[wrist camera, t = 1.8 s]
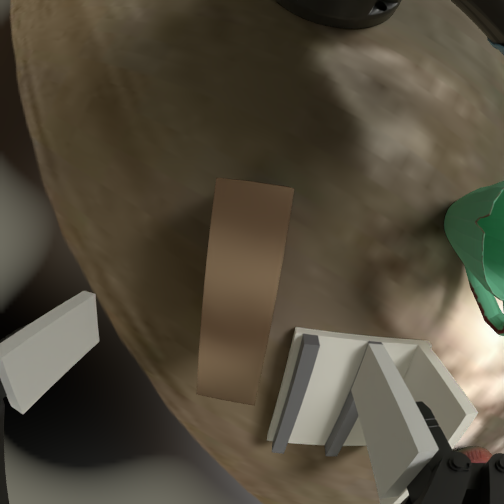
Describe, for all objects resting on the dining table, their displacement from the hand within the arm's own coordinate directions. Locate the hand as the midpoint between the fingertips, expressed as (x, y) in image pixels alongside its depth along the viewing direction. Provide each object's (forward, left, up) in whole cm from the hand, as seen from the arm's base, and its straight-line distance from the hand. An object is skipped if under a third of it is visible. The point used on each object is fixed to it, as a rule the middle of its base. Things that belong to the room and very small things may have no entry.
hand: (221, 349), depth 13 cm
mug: (-5, +22, -16) cm, 28 cm away
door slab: (0, 0, -16) cm, 16 cm away
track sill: (+15, +13, -16) cm, 25 cm away
